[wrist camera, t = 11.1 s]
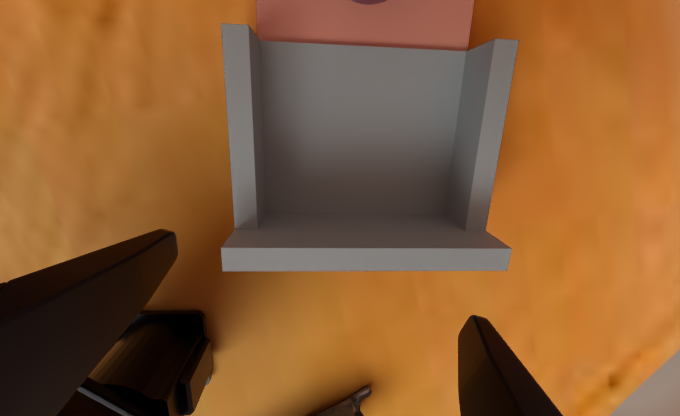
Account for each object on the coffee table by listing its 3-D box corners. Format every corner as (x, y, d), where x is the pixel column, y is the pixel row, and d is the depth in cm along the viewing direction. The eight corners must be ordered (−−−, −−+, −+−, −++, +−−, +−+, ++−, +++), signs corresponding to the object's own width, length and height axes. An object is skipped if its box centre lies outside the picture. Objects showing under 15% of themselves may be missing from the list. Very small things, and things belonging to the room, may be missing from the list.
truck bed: (252, 222, 21) (222, 271, 15) (233, -164, 15) (169, -379, 9) (450, 224, 22) (507, 270, 16) (501, -137, 17) (626, -311, 10)
